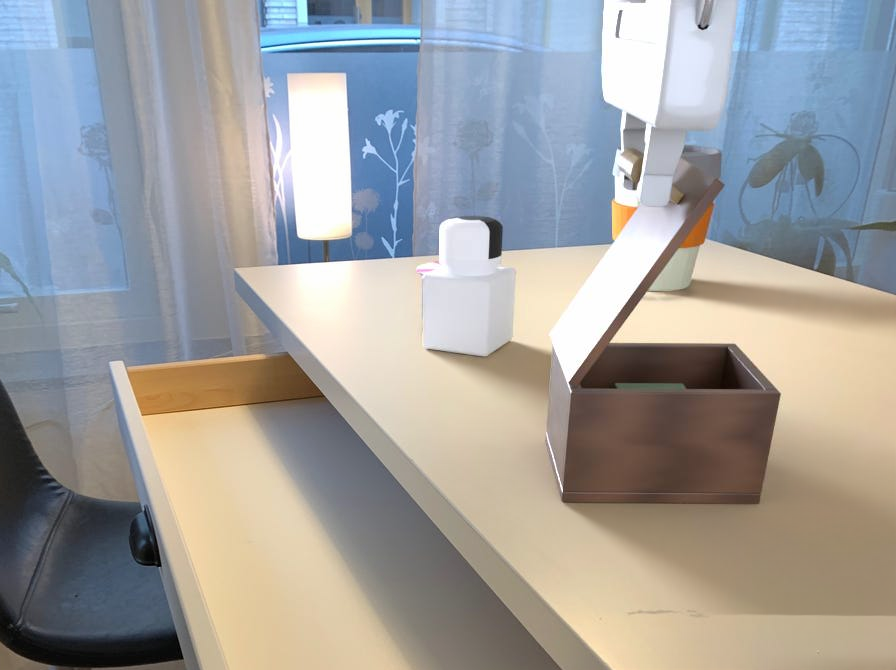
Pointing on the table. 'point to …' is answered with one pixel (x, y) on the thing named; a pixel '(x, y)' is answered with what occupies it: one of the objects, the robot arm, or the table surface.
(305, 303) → the table surface
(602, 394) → the box
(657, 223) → the lid
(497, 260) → the medicine bottle
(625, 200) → the reusable coffee cup
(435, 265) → the cd
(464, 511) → the table surface
